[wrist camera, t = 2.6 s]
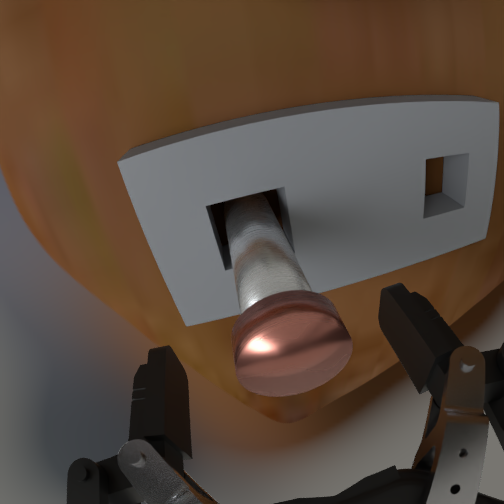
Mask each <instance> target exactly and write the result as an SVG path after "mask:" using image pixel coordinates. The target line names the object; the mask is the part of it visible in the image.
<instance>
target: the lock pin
mask: <svg viewBox="0 0 504 504" xmlns="http://www.w3.org/2000/svg"><path fill="white" fill-rule="evenodd" d="M223 211H224V218H225V225H226V231H227V237H228V243H229V249H230V255H231V261H232V267H233V273H234V278H235V284H236V290H237V296H238V301H239V307H240V313H241V315H240V316H239V318H238V319H237V321H236V322H235V324H234V326H233V330H232V335H231V340H232V348H233V355H234V362H235V369H236V375H237V378H238V380H239V382H240V383H241V385H242V386H243V387H245V388H246V389H247V390H249V391H251V392H253V393H256V394H260V395H264V396H274V397H275V396H289V395H295V394H299V393H303V392H306V391H309V390H311V389H314V388H316V387H318V386H320V385H322V384H324V383H326V382H327V381H329V380H330V379H332V378H333V377H334V376H335V375H337V374H338V373H339V372H340V371H341V370H342V368H343V367H344V366H345V365H346V363H347V362H348V360H349V358H350V356H351V353H352V348H353V345H352V340H351V337H350V335H349V333H348V331H347V329H346V327H345V325H344V323H343V321H342V319H341V318H340V316H339V314H338V312H337V310H336V308H335V306H334V304H333V303H332V302H331V301H330V300H329V299H328V298H326V297H325V296H323V295H321V294H318V293H316V292H312V290H311V287H310V285H309V283H308V281H307V279H306V277H305V275H304V273H303V271H302V269H301V267H300V265H299V263H298V261H297V259H296V256H295V254H294V252H293V250H292V248H291V246H290V244H289V242H288V240H287V238H286V236H285V234H284V232H283V230H282V228H281V226H280V224H279V222H278V220H277V218H276V216H275V214H274V212H273V211H272V209H271V207H270V205H269V203H268V201H267V199H266V197H265V196H264V195H263V194H262V193H261V192H259V193H255V194H251V195H247V196H243V197H239V198H235V199H231V200H227V201H225V204H224V209H223Z"/></svg>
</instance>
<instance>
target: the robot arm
mask: <svg viewBox="0 0 504 504" xmlns="http://www.w3.org/2000/svg"><path fill="white" fill-rule="evenodd" d="M378 319H379V324H380V328H381V330H382V332H383V333H384V335H385V337H386V338H387V340H388V342H389V343H390V345H391V346H392V348H393V350H394V351H395V353H396V355H397V356H398V358H399V360H400V361H401V363H402V365H403V367H404V368H405V370H406V372H407V373H408V375H409V377H410V379H411V380H412V382H413V384H414V386H415V387H416V389H417V391H418V393H419V394H422V393H424V392H426V391H428V390H429V392H430V393H431V395H432V396H431V398H430V403H429V409H428V414H427V418H426V423H425V428H424V432H423V436H422V440H421V443H420V446H419V448H418V450H417V452H416V455H415V458H414V461H413V464H412V467H411V469H399V470H397V469H396V466H395V465H394V466H392V467H390V468H387V469H385V470H383V471H380V472H378V473H375V474H373V475H370V476H367V477H365V478H363V479H362V480H360V481H359V482H357V483H356V484H354V485H353V486H351V487H349V488H348V489H346V490H344V491H343V492H341V493H339V494H337V495H335V496H330V497H316V498H297V499H293V500H289V501H284V502H279V503H275V504H504V501H502V500H499V499H496V498H493V497H490V496H487V495H485V494H482V493H479V492H478V489H479V484H480V480H481V475H482V470H483V464H484V459H485V452H486V445H487V438H488V428H489V421H490V423H491V425H492V427H493V429H494V431H495V433H496V435H497V437H498V439H499V441H500V444H501V446H502V448H503V450H504V343H503V344H502V346H501V348H500V349H495V350H490V351H485V352H480V351H479V350H478V349H476V348H474V347H471V346H464V345H463V344H462V343H461V342H460V340H459V339H458V338H457V336H456V335H455V334H454V332H453V331H452V330H451V328H450V327H449V326H448V325H447V323H446V322H445V321H444V320H443V318H442V317H440V315H439V313H438V312H437V311H436V310H434V307H433V306H432V305H431V303H430V302H429V301H428V300H427V299H426V298H425V297H423V296H422V295H420V294H418V293H417V292H412V293H410V292H409V291H408V290H407V289H406V287H405V286H404V285H403V284H402V283H397V284H394V285H392V286H389V287H386V288H383V289H382V290H381V297H380V307H379V316H378ZM132 400H133V401H132V405H131V416H130V430H129V439H128V442H127V443H125V444H124V445H123V446H122V447H121V449H120V451H119V453H118V454H117V455H115V456H113V457H111V458H108V459H105V460H102V461H100V462H96V463H95V462H94V461H92V460H90V459H88V458H80V459H77V460H75V461H74V462H73V463H72V464H71V466H70V468H69V470H68V479H67V504H141V502H143V501H145V502H146V503H147V504H220V503H218V502H217V501H216V500H215V499H214V498H213V497H211V496H210V495H209V494H208V493H207V492H206V491H205V490H204V489H203V488H202V487H201V486H199V484H198V483H197V482H195V480H194V479H192V478H191V477H190V476H189V475H188V474H187V473H186V471H185V470H184V467H183V460H187V459H192V446H191V432H190V415H189V414H190V413H189V390H188V379H187V375H186V372H185V370H184V368H183V366H182V364H181V363H180V361H179V359H178V358H177V356H176V354H175V353H174V351H173V349H172V348H171V347H170V346H169V345H168V346H163V347H158V348H153V349H150V350H149V353H148V363H147V364H144V365H140V367H139V369H138V371H137V373H136V374H135V377H134V383H133V393H132ZM483 409H484V411H485V413H486V415H485V414H484V411H483Z"/></svg>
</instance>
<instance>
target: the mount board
mask: <svg viewBox="0 0 504 504" xmlns="http://www.w3.org/2000/svg"><path fill="white" fill-rule="evenodd" d="M498 141H499V103H498V102H495V101H491V100H488V99H484V98H480V97H476V96H467V95H408V96H388V97H374V98H362V99H352V100H342V101H334V102H326V103H319V104H312V105H305V106H299V107H293V108H287V109H281V110H276V111H270V112H265V113H260V114H255V115H251V116H246V117H241V118H237V119H233V120H228V121H224V122H220V123H216V124H212V125H208V126H204V127H201V128H197V129H193V130H190V131H186V132H183V133H179V134H176V135H172V136H169V137H166V138H162V139H159V140H156V141H153V142H150V143H147V144H144V145H141V146H138V147H135V148H132V149H130V150H129V151H128V152H127V153H126V154H125V155H124V156H123V157H122V158H121V159H120V160H119V161H118V162H117V163H118V165H119V168H120V171H121V174H122V177H123V179H124V182H125V185H126V188H127V190H128V193H129V196H130V198H131V201H132V204H133V206H134V209H135V211H136V214H137V216H138V219H139V221H140V224H141V226H142V229H143V231H144V234H145V236H146V239H147V241H148V243H149V246H150V248H151V250H152V253H153V255H154V257H155V260H156V262H157V264H158V267H159V269H160V271H161V273H162V276H163V278H164V280H165V282H166V284H167V287H168V289H169V291H170V293H171V295H172V297H173V299H174V302H175V304H176V306H177V308H178V310H179V312H180V314H181V316H182V318H183V320H184V322H185V324H186V326H191V325H195V324H200V323H204V322H208V321H213V320H217V319H221V318H226V317H230V316H234V315H238V314H241V313H240V307H239V301H238V296H237V290H236V284H235V278H234V273H233V267H232V261H231V255H230V249H229V244H227V245H223V246H222V244H221V241H220V237H219V234H218V231H217V227H216V224H215V220H214V217H213V214H212V210H211V207H210V205H212V204H216V203H219V202H223V201H227V200H231V199H235V198H239V197H243V196H247V195H251V194H255V193H259V192H264V191H268V190H272V189H276V190H277V195H278V201H279V206H280V212H281V217H282V223H283V229H284V230H283V232H284V234H285V236H286V238H287V240H288V242H289V244H290V246H291V248H292V250H293V252H294V254H295V256H296V259H297V261H298V263H299V265H300V267H301V269H302V271H303V273H304V275H305V277H306V279H307V281H308V283H309V285H310V287H311V290H312V292H316V293H321V292H325V291H328V290H332V289H335V288H339V287H342V286H345V285H349V284H352V283H355V282H359V281H362V280H365V279H369V278H372V277H375V276H378V275H381V274H384V273H388V272H391V271H394V270H397V269H400V268H403V267H406V266H409V265H412V264H415V263H418V262H421V261H424V260H427V259H430V258H433V257H436V256H438V255H441V254H444V253H447V252H450V251H452V250H455V249H458V248H461V247H463V246H466V245H469V244H472V243H474V242H477V241H480V240H482V239H485V238H486V234H487V229H488V224H489V219H490V213H491V207H492V201H493V194H494V187H495V178H496V169H497V157H498ZM443 156H444V163H443V184H442V192H441V193H437V194H432V195H428V196H425V177H426V159H430V158H437V157H443Z"/></svg>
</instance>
